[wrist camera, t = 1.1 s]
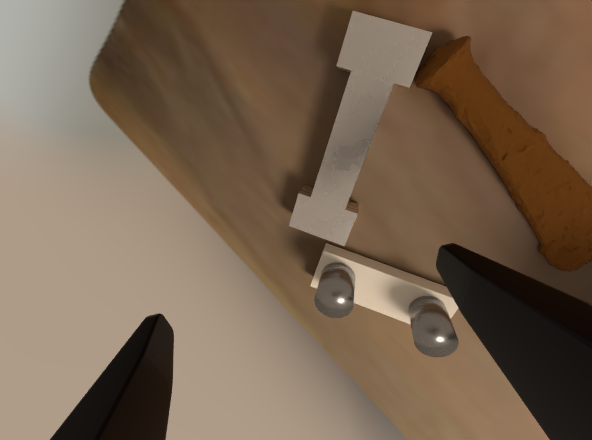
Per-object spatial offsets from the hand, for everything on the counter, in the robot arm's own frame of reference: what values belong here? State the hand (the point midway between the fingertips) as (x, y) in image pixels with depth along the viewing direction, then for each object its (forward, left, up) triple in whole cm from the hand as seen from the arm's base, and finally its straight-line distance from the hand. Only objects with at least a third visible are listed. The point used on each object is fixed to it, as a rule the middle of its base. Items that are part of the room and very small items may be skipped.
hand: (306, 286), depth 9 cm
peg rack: (-7, +8, -15) cm, 19 cm away
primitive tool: (-12, -5, -16) cm, 21 cm away
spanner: (0, -3, -16) cm, 16 cm away
